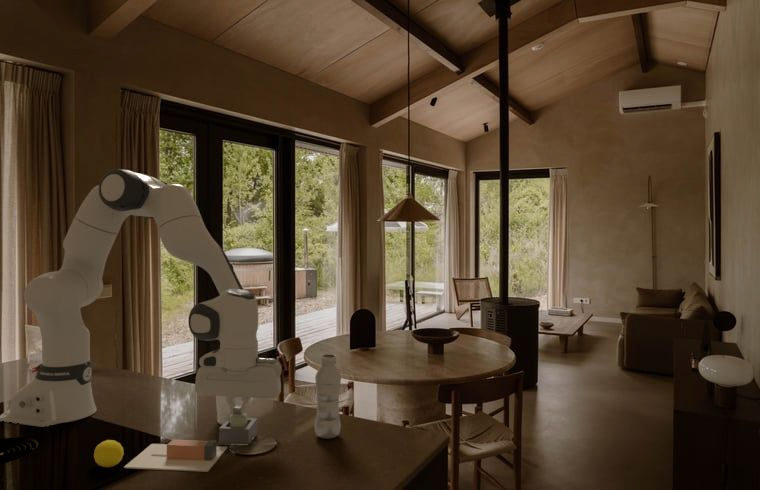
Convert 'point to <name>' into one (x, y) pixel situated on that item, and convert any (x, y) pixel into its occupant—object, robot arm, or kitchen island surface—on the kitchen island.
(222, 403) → the white cup
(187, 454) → the block
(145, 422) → the kitchen island surface
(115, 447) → the lemon
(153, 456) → the paper
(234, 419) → the button
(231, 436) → the button housing
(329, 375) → the plastic bottle
